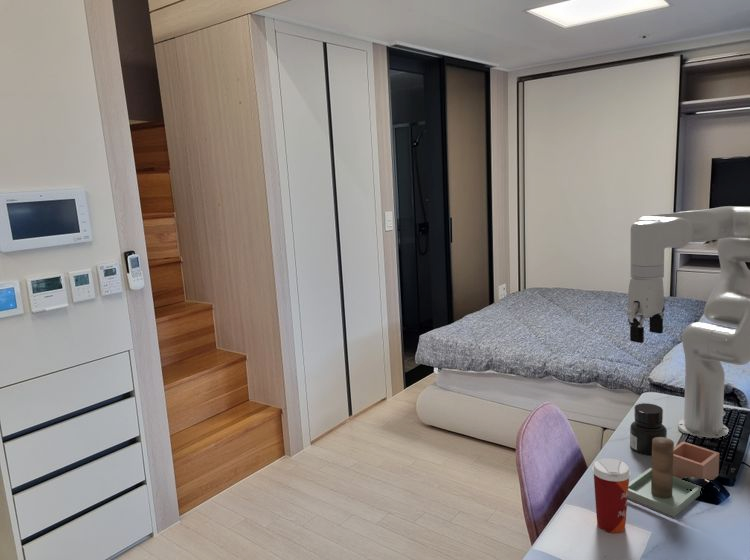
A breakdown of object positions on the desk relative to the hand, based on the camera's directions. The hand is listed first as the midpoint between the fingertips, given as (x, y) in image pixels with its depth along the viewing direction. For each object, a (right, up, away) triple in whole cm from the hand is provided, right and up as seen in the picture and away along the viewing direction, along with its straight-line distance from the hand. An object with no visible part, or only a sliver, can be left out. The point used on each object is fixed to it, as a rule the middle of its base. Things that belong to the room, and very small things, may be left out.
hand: (646, 337), depth 144 cm
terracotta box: (+9, -34, -5) cm, 35 cm away
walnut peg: (-2, -35, -12) cm, 37 cm away
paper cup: (-18, -39, -21) cm, 48 cm away
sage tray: (-2, -36, -12) cm, 38 cm away
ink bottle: (+5, -32, +10) cm, 33 cm away
